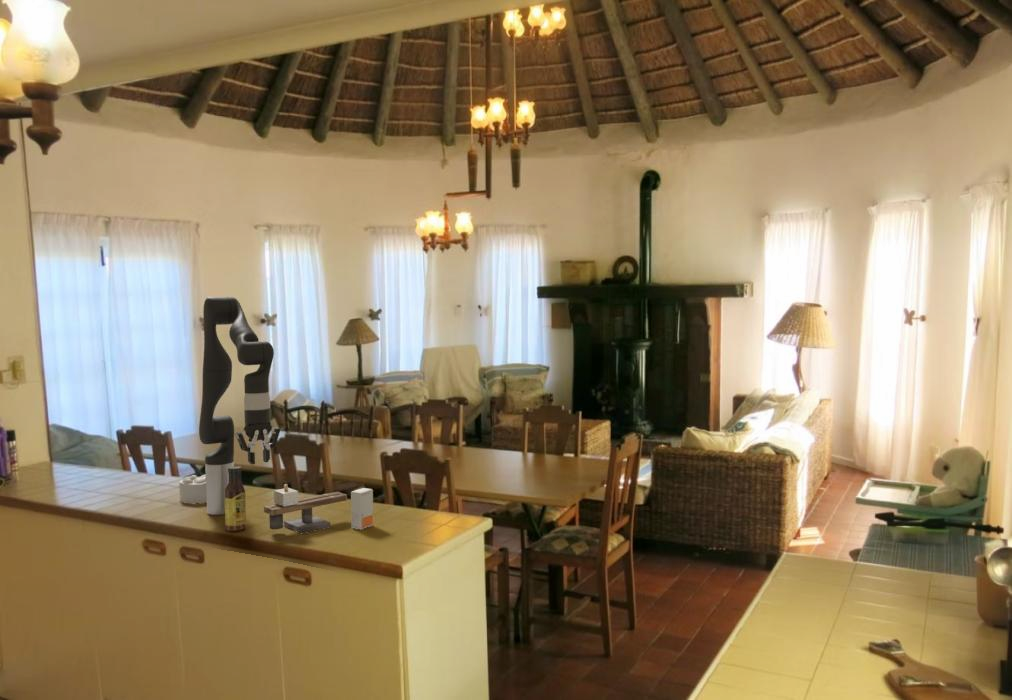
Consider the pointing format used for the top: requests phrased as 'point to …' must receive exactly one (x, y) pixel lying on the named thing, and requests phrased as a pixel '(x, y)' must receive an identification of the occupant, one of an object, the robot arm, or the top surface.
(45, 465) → the top surface
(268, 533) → the top surface
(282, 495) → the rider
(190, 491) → the lumpy-topped squat cylinder
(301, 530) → the balance beam
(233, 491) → the sauce bottle
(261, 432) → the robot arm
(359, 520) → the skincare box
